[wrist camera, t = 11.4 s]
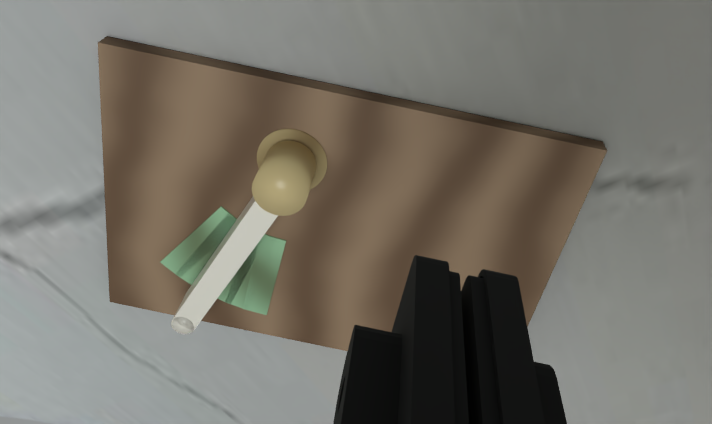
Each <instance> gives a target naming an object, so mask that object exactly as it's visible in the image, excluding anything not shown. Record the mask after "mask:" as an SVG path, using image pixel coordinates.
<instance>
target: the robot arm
mask: <svg viewBox="0 0 712 424" xmlns="http://www.w3.org/2000/svg"><path fill="white" fill-rule="evenodd" d="M334 424H567V422H566V418H565V413H564V409H563V404H562V400H561V395H560V391H559V386H558V382H557V377H556V375H555V372H554V369H553V368H552V367H551V366H550V365H547V364H542V363H537V362H534V361H533V356H532V350H531V345H530V340H529V334H528V329H527V323H526V318H525V313H524V307H523V302H522V297H521V291H520V286H519V281H518V278H517V277H516V276H514V275H509V274H504V273H499V272H495V271H490V270H485V269H483V270H481V271H480V273H479V275H478V277H475V276H471V275H468V276H467V278H466V280H465V282H464V285H463V287H462V290H461V284H460V274H459V273H456V272H452V271H449V263H448V262H447V261H442V260H437V259H433V258H428V257H423V256H418V255H415V256H414V258H413V261H412V264H411V267H410V270H409V274H408V277H407V281H406V284H405V287H404V291H403V294H402V298H401V301H400V305H399V308H398V311H397V315H396V318H395V322H394V325H393V329H392V332H388V331H383V330H378V329H374V328H369V327H364V326H359V325H354V328H353V332H352V335H351V339H350V343H349V348H348V352H347V356H346V360H345V364H344V369H343V374H342V379H341V384H340V389H339V394H338V399H337V405H336V411H335V417H334Z"/></svg>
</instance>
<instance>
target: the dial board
mask: <svg viewBox="0 0 712 424" xmlns="http://www.w3.org/2000/svg"><path fill="white" fill-rule="evenodd" d="M98 55H99V77H100V99H101V121H102V142H103V164H104V186H105V208H106V229H107V251H108V273H109V294H110V302H114V303H118V304H123V305H128V306H133V307H138V308H142V309H147V310H152V311H157V312H162V313H167V314H171V315H175V314H176V312H177V310H178V308H179V306H180V304H181V302H182V300H183V298H184V296H185V294H186V292H187V291H188V289H189V288H190V286H191V285H192V284H193V282H194V281H195V279H196V278H197V276H198V275H199V273H200V272H201V271H202V269H203V268H204V266H205V265H206V263H207V262H208V260H209V259H210V257H211V256H212V255H213V253H214V252H215V250H216V249H217V247H218V246H219V244H220V243H221V242H222V240H223V239H224V237H225V236H226V234H227V233H228V231H229V230H230V228H231V227H232V226H233V224H234V223H235V221H236V220H237V218H238V217H239V215H240V214H241V213H242V211H243V210H244V208H245V207H246V205H247V204H248V202H249V201H250V200H251V198H252V197H253V194H252V183H253V180H254V178H255V176H256V174H257V172H258V170H259V168H260V166H261V164H262V162H263V160H264V158H265V156H266V154H267V152H268V150H269V149H270V148H271V147H272V146H273V145H274V144H276V143H278V142H281V141H295V142H299V143H301V144H303V145H304V146H306V147H307V148H308V149H309V150H310V151H311V152H312V153H313V155H314V157H315V160H316V164H317V168H316V173H315V176H314V179H313V182H312V185H311V188H310V191H309V194H308V197H307V200H306V203H305V205H304V206H303V208H302V209H301V210H300V211H298V212H297V213H295V214H292V215H288V216H278V217H277V218H276V219H275V221H274V222H273V223H272V225H271V226H270V227H269V229H268V230H267V232H266V233H265V234H264V236H263V237H262V238H261V240H260V241H259V242H258V244H257V245H256V247H255V248H254V249H253V251H252V252H251V253H250V255H249V256H248V257H247V259H246V260H245V261H244V263H243V264H242V266H241V267H240V268H239V270H238V271H237V272H236V274H235V275H234V276H233V278H232V279H231V281H230V282H229V283H228V285H227V286H226V287H225V289H224V290H223V291H222V293H221V294H220V295H219V297H218V298H217V300H216V301H215V302H214V304H213V305H212V306H211V308H210V309H209V310H208V312H207V313H206V315H205V316H204V317H203V319H202V320H201V321H205V322H210V323H215V324H220V325H224V326H229V327H234V328H239V329H244V330H248V331H253V332H258V333H263V334H268V335H272V336H277V337H282V338H287V339H292V340H297V341H301V342H306V343H311V344H316V345H321V346H325V347H330V348H335V349H340V350H345V351H348V348H349V343H350V339H351V335H352V332H353V328H354V325H359V326H364V327H369V328H374V329H378V330H383V331H388V332H392V329H393V325H394V322H395V318H396V315H397V311H398V308H399V305H400V301H401V298H402V294H403V291H404V287H405V284H406V281H407V277H408V274H409V270H410V267H411V264H412V261H413V258H414V256H415V255H418V256H423V257H428V258H433V259H437V260H442V261H447V262H448V263H449V271H452V272H456V273H459V274H460V284H461V290H462V287H463V285H464V282H465V280H466V278H467V276H468V275H471V276H475V277H478V275H479V273H480V271H481V270H483V269H485V270H490V271H495V272H499V273H504V274H509V275H514V276H516V277H517V278H518V281H519V286H520V291H521V297H522V302H523V307H524V313H525V318H526V323H527V326H528V324H529V322H530V320H531V317H532V315H533V313H534V311H535V309H536V306H537V304H538V302H539V300H540V298H541V295H542V293H543V291H544V289H545V287H546V284H547V282H548V280H549V278H550V276H551V273H552V271H553V269H554V267H555V265H556V262H557V260H558V258H559V256H560V254H561V251H562V249H563V247H564V245H565V243H566V240H567V238H568V236H569V234H570V232H571V229H572V227H573V225H574V223H575V220H576V218H577V216H578V214H579V212H580V209H581V207H582V205H583V203H584V201H585V198H586V196H587V194H588V192H589V190H590V187H591V185H592V183H593V181H594V179H595V176H596V174H597V172H598V170H599V168H600V165H601V163H602V161H603V159H604V157H605V154H606V152H607V149H606V148H605V146H604V144H603V142H602V141H597V140H592V139H588V138H583V137H578V136H574V135H569V134H564V133H559V132H555V131H550V130H545V129H541V128H536V127H531V126H527V125H522V124H517V123H512V122H508V121H503V120H498V119H494V118H489V117H484V116H480V115H475V114H470V113H465V112H461V111H456V110H451V109H447V108H442V107H437V106H432V105H428V104H423V103H418V102H414V101H409V100H404V99H400V98H395V97H390V96H385V95H381V94H376V93H371V92H367V91H362V90H357V89H353V88H348V87H343V86H338V85H334V84H329V83H324V82H320V81H315V80H310V79H305V78H301V77H296V76H291V75H287V74H282V73H277V72H273V71H268V70H263V69H258V68H254V67H249V66H244V65H240V64H235V63H230V62H226V61H221V60H216V59H211V58H207V57H202V56H197V55H193V54H188V53H183V52H178V51H174V50H169V49H164V48H160V47H155V46H150V45H146V44H141V43H136V42H131V41H127V40H122V39H117V38H113V37H108V36H107V37H105V38H104V39H102V40H101V41H99V42H98Z"/></svg>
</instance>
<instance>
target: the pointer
mask: <svg viewBox="0 0 712 424" xmlns="http://www.w3.org/2000/svg"><path fill="white" fill-rule="evenodd" d="M316 168H317V164H316V160H315V157H314V155H313V153H312V152H311V151H310V150H309V149H308V148H307V147H306V146H304V145H303V144H301V143H299V142H295V141H281V142H278V143H276V144H274V145H273V146H272V147H271V148H270V149H269V150H268V152H267V154H266V156H265V158H264V160H263V162H262V164H261V166H260V168H259V170H258V172H257V174H256V176H255V178H254V180H253V183H252V194H253V197H252V198H251V200H250V201H249V202H248V204H247V205H246V207H245V208H244V210H243V211H242V213H241V214H240V215H239V217H238V218H237V220H236V221H235V223H234V224H233V226H232V227H231V228H230V230H229V231H228V233H227V234H226V236H225V237H224V239H223V240H222V242H221V243H220V244H219V246H218V247H217V249H216V250H215V252H214V253H213V255H212V256H211V257H210V259H209V260H208V262H207V263H206V265H205V266H204V268H203V269H202V271H201V272H200V273H199V275H198V276H197V278H196V279H195V281H194V282H193V284H192V285H191V286H190V288H189V289H188V291H187V292H186V294H185V296H184V298H183V300H182V302H181V304H180V306H179V308H178V310H177V312H176V314H175V316H174V318H173V320H172V322H171V325H172V328H173V329H174V330H175V331H176V332H178V333H180V334H190V333H192V332H193V331H194V329H195V328H196V327H197V325H198V324H199V323H200V321H201V320H202V319H203V317H204V316H205V315H206V313H207V312H208V310H209V309H210V308H211V306H212V305H213V304H214V302H215V301H216V300H217V298H218V297H219V295H220V294H221V293H222V291H223V290H224V289H225V287H226V286H227V285H228V283H229V282H230V281H231V279H232V278H233V276H234V275H235V274H236V272H237V271H238V270H239V268H240V267H241V266H242V264H243V263H244V261H245V260H246V259H247V257H248V256H249V255H250V253H251V252H252V251H253V249H254V248H255V247H256V245H257V244H258V242H259V241H260V240H261V238H262V237H263V236H264V234H265V233H266V232H267V230H268V229H269V227H270V226H271V225H272V223H273V222H274V221H275V219H276V218H277V217H278V216H288V215H292V214H295V213H297V212H298V211H300V210H301V209H302V208H303V206H304V205H305V203H306V200H307V197H308V194H309V191H310V188H311V185H312V182H313V179H314V176H315V173H316Z"/></svg>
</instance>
